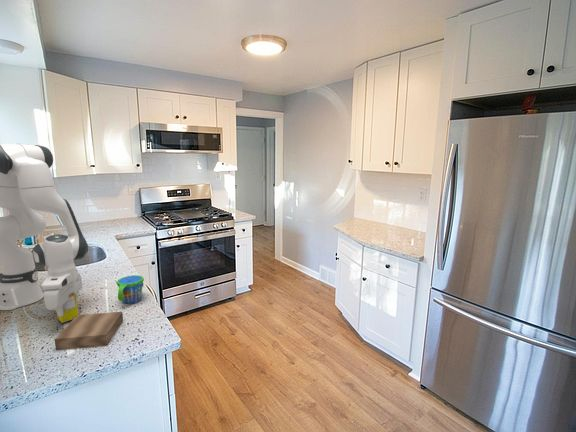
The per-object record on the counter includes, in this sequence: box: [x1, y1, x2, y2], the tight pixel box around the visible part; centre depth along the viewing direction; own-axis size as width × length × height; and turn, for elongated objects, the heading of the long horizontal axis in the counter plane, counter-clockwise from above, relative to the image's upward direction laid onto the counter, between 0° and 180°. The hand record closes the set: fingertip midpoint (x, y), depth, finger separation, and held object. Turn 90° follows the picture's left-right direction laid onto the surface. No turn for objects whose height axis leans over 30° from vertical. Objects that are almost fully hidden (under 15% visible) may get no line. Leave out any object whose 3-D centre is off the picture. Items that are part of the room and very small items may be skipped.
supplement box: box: [55, 292, 80, 325], centre depth 122 cm, size 6×6×11 cm
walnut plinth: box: [54, 311, 124, 351], centre depth 112 cm, size 16×16×4 cm
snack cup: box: [116, 274, 144, 304], centre depth 138 cm, size 16×10×10 cm
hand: (68, 309), depth 122 cm, fingers closed on supplement box, 8 cm apart
